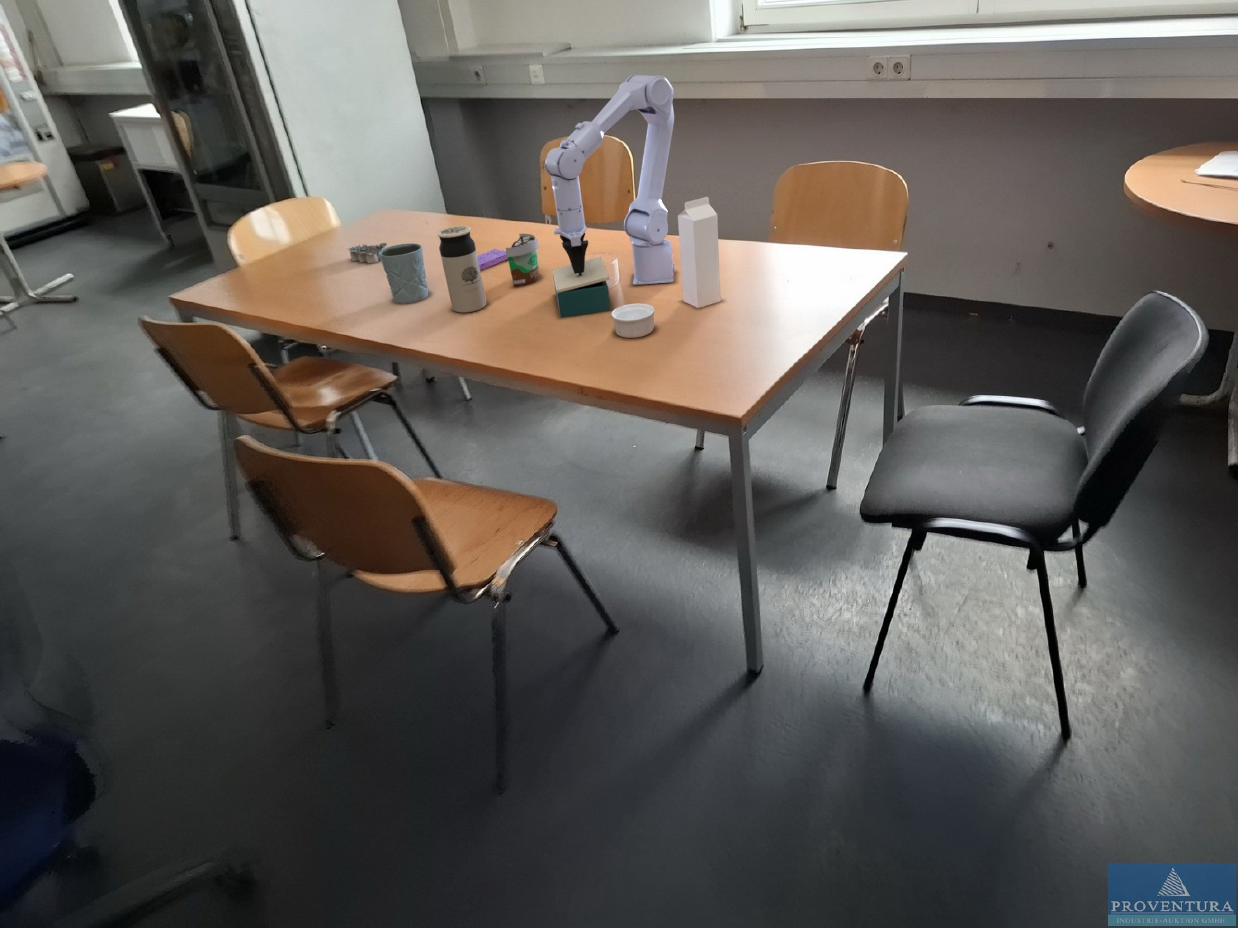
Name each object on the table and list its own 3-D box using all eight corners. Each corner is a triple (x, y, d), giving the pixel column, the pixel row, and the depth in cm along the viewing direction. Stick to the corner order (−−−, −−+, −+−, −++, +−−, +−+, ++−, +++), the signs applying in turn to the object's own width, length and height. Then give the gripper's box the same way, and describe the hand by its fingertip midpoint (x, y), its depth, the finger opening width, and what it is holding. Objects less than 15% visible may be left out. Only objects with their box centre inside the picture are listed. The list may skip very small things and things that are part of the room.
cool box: (602, 288, 193) (600, 265, 190) (610, 310, 181) (607, 286, 178) (556, 295, 192) (552, 272, 189) (560, 317, 180) (557, 293, 177)
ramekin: (623, 343, 165) (621, 323, 162) (606, 329, 172) (604, 310, 169) (663, 332, 167) (661, 312, 165) (644, 319, 174) (643, 299, 172)
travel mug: (449, 306, 194) (432, 230, 184) (481, 298, 196) (466, 223, 187) (457, 316, 187) (440, 238, 178) (490, 308, 190) (475, 230, 180)
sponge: (512, 258, 220) (511, 251, 219) (475, 272, 213) (474, 266, 212) (496, 254, 225) (494, 248, 224) (459, 268, 218) (457, 261, 217)
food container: (536, 288, 198) (529, 247, 193) (512, 289, 199) (505, 248, 194) (549, 271, 208) (543, 231, 203) (526, 271, 210) (519, 233, 204)
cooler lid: (601, 259, 189) (597, 243, 187) (609, 279, 177) (605, 262, 175) (552, 272, 189) (548, 256, 187) (557, 293, 177) (552, 276, 175)
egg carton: (391, 257, 234) (388, 242, 232) (370, 265, 229) (366, 251, 227) (369, 252, 240) (365, 238, 238) (347, 260, 235) (344, 246, 233)
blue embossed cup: (383, 304, 200) (370, 256, 194) (405, 289, 208) (394, 242, 202) (418, 305, 196) (406, 256, 190) (440, 290, 204) (429, 242, 198)
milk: (720, 301, 178) (717, 199, 167) (697, 309, 176) (693, 205, 164) (704, 294, 183) (700, 194, 171) (682, 301, 181) (676, 200, 169)
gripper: (548, 202, 181) (557, 261, 188) (553, 219, 169) (562, 282, 176) (580, 197, 182) (588, 257, 189) (586, 213, 169) (595, 277, 176)
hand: (578, 269), depth 182 cm, fingers closed on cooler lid, 4 cm apart
